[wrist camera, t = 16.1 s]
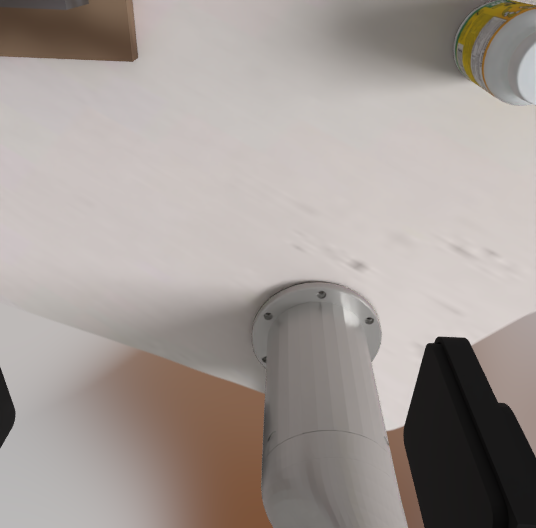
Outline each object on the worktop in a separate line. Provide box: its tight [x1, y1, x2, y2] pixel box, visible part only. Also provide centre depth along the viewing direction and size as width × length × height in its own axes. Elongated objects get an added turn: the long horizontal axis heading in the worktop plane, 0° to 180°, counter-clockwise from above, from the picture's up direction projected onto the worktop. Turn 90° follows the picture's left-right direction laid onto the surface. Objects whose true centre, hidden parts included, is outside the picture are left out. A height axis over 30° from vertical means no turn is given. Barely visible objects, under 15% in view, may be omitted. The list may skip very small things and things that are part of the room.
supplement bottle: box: [453, 0, 536, 106], centre depth 31 cm, size 5×5×10 cm
